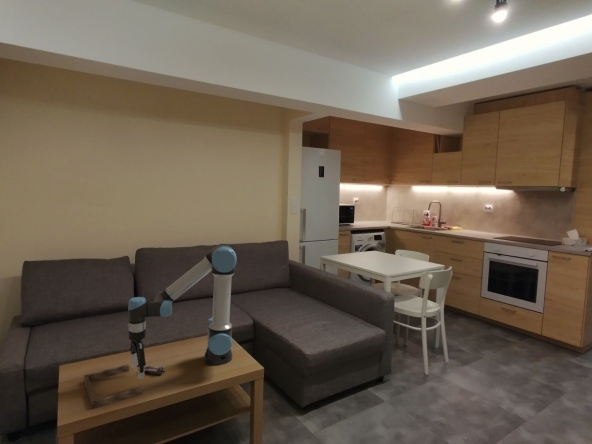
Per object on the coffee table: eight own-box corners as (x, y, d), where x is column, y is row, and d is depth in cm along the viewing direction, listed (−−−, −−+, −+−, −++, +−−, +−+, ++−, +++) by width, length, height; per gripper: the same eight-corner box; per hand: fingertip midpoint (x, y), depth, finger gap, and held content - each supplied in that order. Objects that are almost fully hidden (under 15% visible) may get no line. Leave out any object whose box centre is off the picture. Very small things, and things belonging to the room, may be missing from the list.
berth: (128, 369, 180) (128, 364, 180) (141, 394, 159) (141, 388, 159) (84, 381, 169) (83, 375, 168) (92, 410, 147) (92, 403, 147)
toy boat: (137, 372, 177) (138, 364, 177) (145, 367, 183) (145, 359, 183) (159, 376, 174) (159, 368, 173) (166, 372, 179) (167, 364, 179)
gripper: (123, 323, 176) (123, 364, 178) (135, 340, 156) (135, 386, 158) (139, 320, 181) (139, 360, 183) (152, 337, 161) (152, 381, 163)
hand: (137, 372), depth 170 cm, fingers open, 13 cm apart
